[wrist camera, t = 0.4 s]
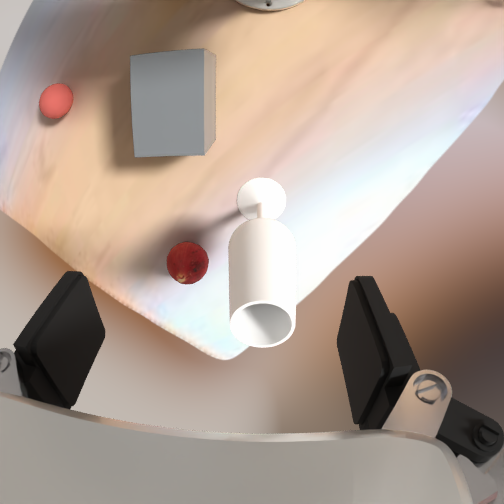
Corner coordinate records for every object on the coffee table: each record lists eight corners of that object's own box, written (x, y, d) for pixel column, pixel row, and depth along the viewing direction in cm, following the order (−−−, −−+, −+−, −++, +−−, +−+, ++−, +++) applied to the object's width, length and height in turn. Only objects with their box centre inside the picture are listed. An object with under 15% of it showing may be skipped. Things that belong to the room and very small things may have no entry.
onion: (204, 228, 46) (195, 258, 39) (216, 261, 49) (209, 294, 42) (168, 236, 47) (153, 266, 40) (180, 268, 49) (169, 300, 43)
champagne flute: (236, 221, 45) (216, 353, 25) (237, 176, 42) (215, 285, 21) (283, 224, 45) (301, 357, 25) (288, 179, 42) (316, 291, 21)
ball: (51, 85, 34) (31, 89, 30) (78, 79, 34) (59, 81, 30) (53, 117, 37) (33, 124, 32) (80, 112, 37) (61, 118, 32)
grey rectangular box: (155, 59, 34) (130, 55, 26) (216, 55, 34) (204, 48, 26) (158, 141, 39) (134, 157, 32) (215, 139, 39) (204, 155, 32)
